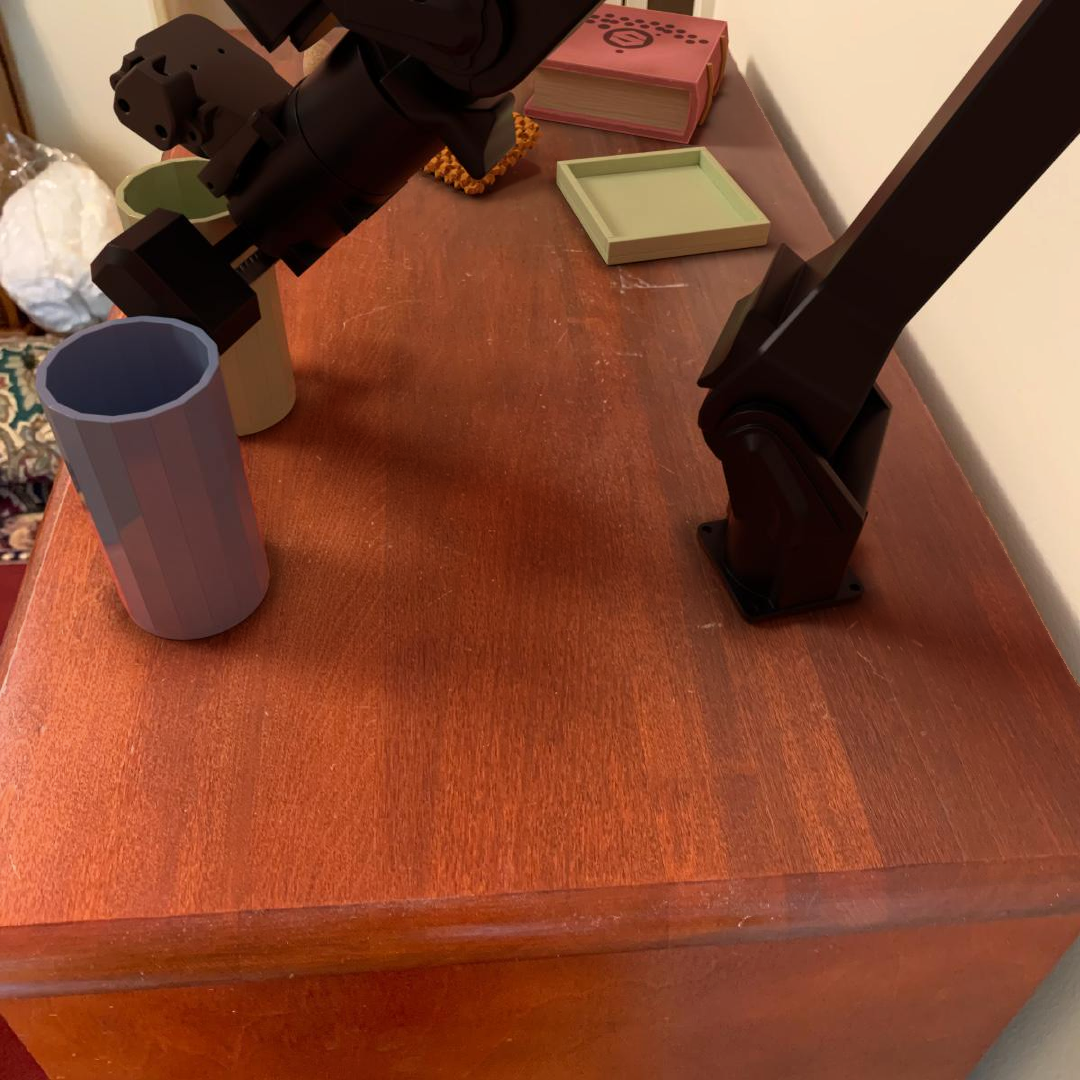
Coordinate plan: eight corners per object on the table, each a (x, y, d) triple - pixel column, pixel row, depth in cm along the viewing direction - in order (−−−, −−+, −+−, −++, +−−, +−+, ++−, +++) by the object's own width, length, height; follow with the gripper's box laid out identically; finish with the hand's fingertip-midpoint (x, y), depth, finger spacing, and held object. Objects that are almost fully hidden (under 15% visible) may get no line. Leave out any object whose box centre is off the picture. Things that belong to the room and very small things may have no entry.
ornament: (533, 140, 72) (530, 16, 79) (392, 164, 73) (402, 40, 81) (550, 214, 77) (545, 92, 85) (418, 235, 79) (425, 113, 87)
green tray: (766, 245, 73) (771, 222, 71) (607, 265, 70) (609, 242, 69) (701, 167, 81) (704, 146, 79) (555, 183, 78) (557, 161, 77)
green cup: (303, 426, 57) (266, 215, 48) (178, 445, 56) (115, 231, 46) (289, 356, 62) (253, 150, 52) (173, 372, 60) (114, 163, 51)
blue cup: (277, 623, 47) (224, 405, 38) (125, 653, 46) (31, 434, 36) (262, 523, 52) (212, 306, 42) (123, 547, 50) (39, 328, 41)
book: (698, 145, 83) (707, 84, 80) (523, 115, 86) (524, 55, 83) (727, 80, 93) (737, 22, 89) (568, 55, 96) (572, -2, 92)
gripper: (334, -91, 47) (185, 101, 57) (57, 46, 35) (-67, 258, 45) (488, 111, 51) (322, 256, 61) (288, 299, 38) (124, 439, 49)
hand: (192, 294), depth 54 cm, fingers open, 8 cm apart
